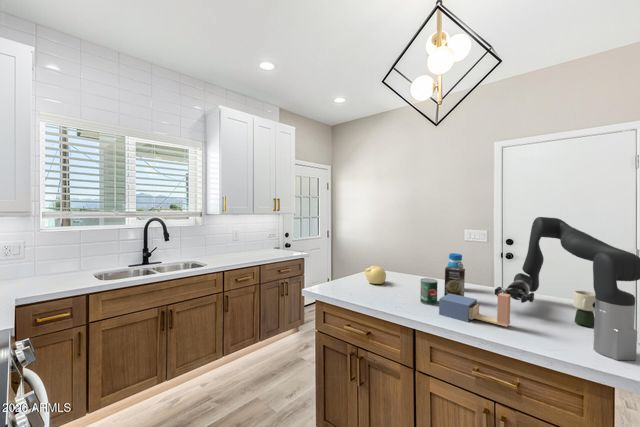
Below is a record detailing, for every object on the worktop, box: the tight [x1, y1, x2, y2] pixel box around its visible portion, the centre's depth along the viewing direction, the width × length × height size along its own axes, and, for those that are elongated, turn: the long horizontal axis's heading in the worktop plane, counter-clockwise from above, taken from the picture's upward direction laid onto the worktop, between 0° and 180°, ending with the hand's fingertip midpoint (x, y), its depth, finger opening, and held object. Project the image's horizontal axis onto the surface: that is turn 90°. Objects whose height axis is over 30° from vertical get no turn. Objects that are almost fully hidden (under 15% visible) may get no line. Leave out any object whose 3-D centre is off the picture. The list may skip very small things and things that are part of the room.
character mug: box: [573, 290, 595, 328], centre depth 120 cm, size 11×7×13 cm, turn 135°
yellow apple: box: [364, 264, 387, 285], centre depth 182 cm, size 11×12×11 cm
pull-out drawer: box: [469, 292, 511, 327], centre depth 125 cm, size 23×9×12 cm, turn 46°
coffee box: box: [443, 266, 466, 297], centre depth 150 cm, size 9×6×16 cm
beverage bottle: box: [446, 252, 464, 269], centre depth 169 cm, size 8×8×20 cm
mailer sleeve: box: [438, 293, 478, 323], centre depth 131 cm, size 12×11×7 cm
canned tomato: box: [419, 277, 439, 306], centre depth 147 cm, size 8×8×11 cm
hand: (510, 298), depth 127 cm, fingers open, 8 cm apart
